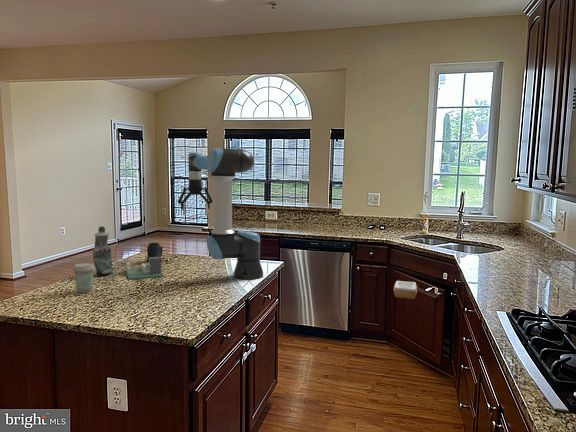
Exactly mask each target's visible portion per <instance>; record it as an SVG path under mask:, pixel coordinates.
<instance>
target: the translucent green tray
mask: <svg viewBox="0 0 576 432" xmlns="http://www.w3.org/2000/svg"><path fill="white" fill-rule="evenodd" d="M144 263H145V262H143V263H141V267H134V268H131V264H130V262H126V264H125V269H124V273H125V276H126V277H127V278H128V280H129V281H133V280H144V279H156V278H163V277H164V274H163V273H162V272H161V274H151V275H150V273H149V270H146V266H145V264H144Z"/></svg>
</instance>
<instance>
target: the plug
mask: <svg viewBox="0 0 576 432" xmlns="http://www.w3.org/2000/svg"><path fill="white" fill-rule="evenodd" d="M161 264H162V263H160V257H149V273H150V275H151V274H161V273H162V270H161V267H162V266H161Z"/></svg>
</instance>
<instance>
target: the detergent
mask: <svg viewBox="0 0 576 432" xmlns="http://www.w3.org/2000/svg"><path fill="white" fill-rule="evenodd" d="M94 236H95V237H94V239H95V240H94V247H93V249H92V257H93V265H94V268H95V271H96V272H95V273H96V275H98V276H107V275H110V274H112V273H113V271H114V267H113V260H112V248H111V246H109V245H108V240H109V232H106V228H105V226H103V225H102V226H99V227H98V232H96V233H95V234H94Z"/></svg>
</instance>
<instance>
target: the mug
mask: <svg viewBox="0 0 576 432" xmlns="http://www.w3.org/2000/svg"><path fill="white" fill-rule="evenodd" d="M146 253H147V258H146V261H145V263H149V257H160V263H161V264H162V263H163V259H162V256H163V246H161V245H160V243H159V242H149V243H148V246H147V247H146Z"/></svg>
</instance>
